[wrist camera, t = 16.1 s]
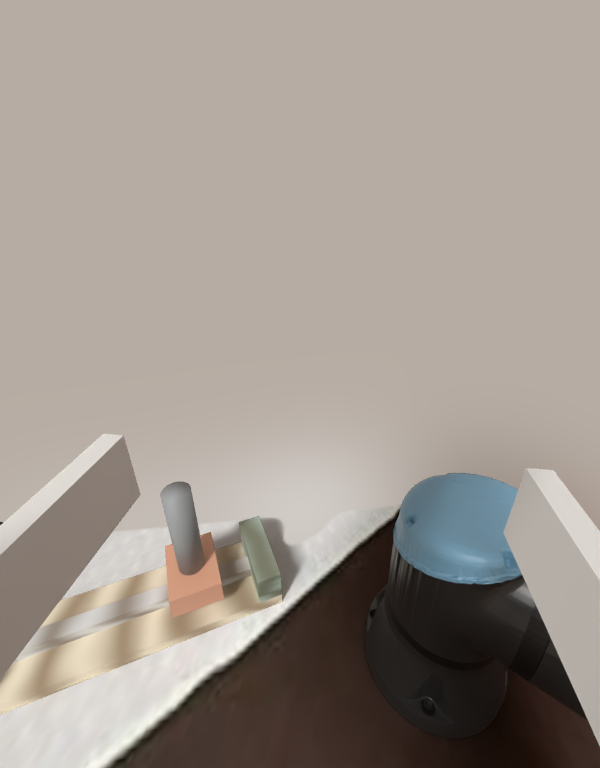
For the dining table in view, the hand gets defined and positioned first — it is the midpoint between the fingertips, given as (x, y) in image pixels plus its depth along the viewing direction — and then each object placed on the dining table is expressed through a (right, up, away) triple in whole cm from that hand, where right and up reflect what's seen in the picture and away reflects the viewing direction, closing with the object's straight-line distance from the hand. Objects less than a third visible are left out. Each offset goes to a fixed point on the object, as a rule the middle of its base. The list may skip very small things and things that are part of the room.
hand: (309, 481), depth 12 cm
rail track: (-21, -26, +33) cm, 47 cm away
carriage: (-14, -23, +34) cm, 44 cm away
